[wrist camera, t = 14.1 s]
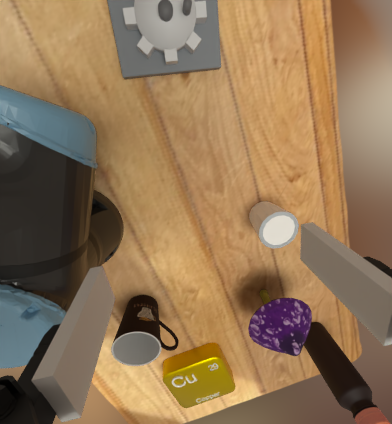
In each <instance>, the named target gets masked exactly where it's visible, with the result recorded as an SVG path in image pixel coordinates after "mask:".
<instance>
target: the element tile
mask: <svg viewBox="0 0 392 424" xmlns="http://www.w3.org/2000/svg"><path fill="white" fill-rule="evenodd" d="M163 382H164V383H165V385H166V386H167V387H168V389H169V390H170V391H171V393H172V394H173V396H174V397H175V398H176V400H177V401H178V402H179V404H180V405H181V406H182V407H184V408H188V407H192V406H195V405H198V404H200V403H203V402H206V401H209V400H212V399H214V398H217V397H220V396H223V395H225V394H228V393H231V392H233V391H234V389H235V383H234V379H233V375H232V371H231V369H230V367H229V365H228V363H227V361H226V359H225V357H224V355H223V353H222V351H221V349H220V347H219V345H218V344H216V343H208V344H205V345H202V346H200V347H197V348H194V349H192V350H189V351H186V352H183V353H181V354H178V355H175V356H173V357H170V358H167V359H166V360H164V362H163Z"/></svg>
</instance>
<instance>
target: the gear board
mask: <svg viewBox="0 0 392 424" xmlns="http://www.w3.org/2000/svg"><path fill="white" fill-rule="evenodd" d="M107 1H108V6H109V11H110V16H111V21H112V26H113V31H114V36H115V40H116V45H117V50H118V55H119V60H120V65H121V70H122V75H123V78H124V79H131V78H141V77H150V76H160V75H169V74H179V73H188V72H198V71H207V70H217V69H220V68H221V57H220V39H219V21H218V3H217V0H107Z"/></svg>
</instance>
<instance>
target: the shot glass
mask: <svg viewBox="0 0 392 424" xmlns="http://www.w3.org/2000/svg"><path fill="white" fill-rule="evenodd" d="M249 219H250V222H251V224H252V226H253V228H254V229H255V231H256V233H257V235H258V237H259V239H260V240H261V242H262V243H263V244H264V245H265V246H267V247H270V248H281V247H283V246H286V245H288V244H289V243H290V242H291V241H292V240H293V239H294V238H295V236H296V234H297V233H298V227H299V224H298V221H297V218H296V217H295V216H294V215H293V214H291V213H290V212H288V211H286V210H284V209H282V208H280V207H279V206H277V205H275V204H273V203H271V202H268V201H262V202H259V203H257V204H256V205H255V206H253V207H252V209H251V211H250V213H249Z"/></svg>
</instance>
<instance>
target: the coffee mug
mask: <svg viewBox="0 0 392 424" xmlns="http://www.w3.org/2000/svg"><path fill="white" fill-rule="evenodd" d="M159 324H160V325H161V326H162V327H163V328H164V329H166V330H167V331H168V332H169V333H170V334H171V335H172V336H173V338H174V339H175V342H176V343H175V345H174V346H172V347H169V346H166V345H165V344H164V343H163V342H162V340H161V337H160V326H159ZM177 346H178V338H177V337H176V335H175V334H174V333H173V332H172V330H170V329H169V328H168V327H167V326H166V325H164V324H163V323H162V322H161V321H160V320H159V314H158V304H157V301H156V300H155V299H154V298H152V297H151V296H148V295H139V296H136V297H134V298H132V299H131V300H130V301H129V303H128V306H127V308H126V311H125V314H124V316H123V319H122V321H121V324H120V326H119V329H118V331H117V334H116V337H115V339H114V342H113V344H112V348H111V352H112V355H113V356H114V358H115V359H116V360H117V361H119V362H120V363H122V364H125V365H129V366H141V365H145V364H148V363H151V362H152V361H154V360H155V359H156V358H157V357H158V356H159V355H160V352H161V347H162V348H164V349H166V350H169V351H171V350H175V349H176V348H177Z"/></svg>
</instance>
